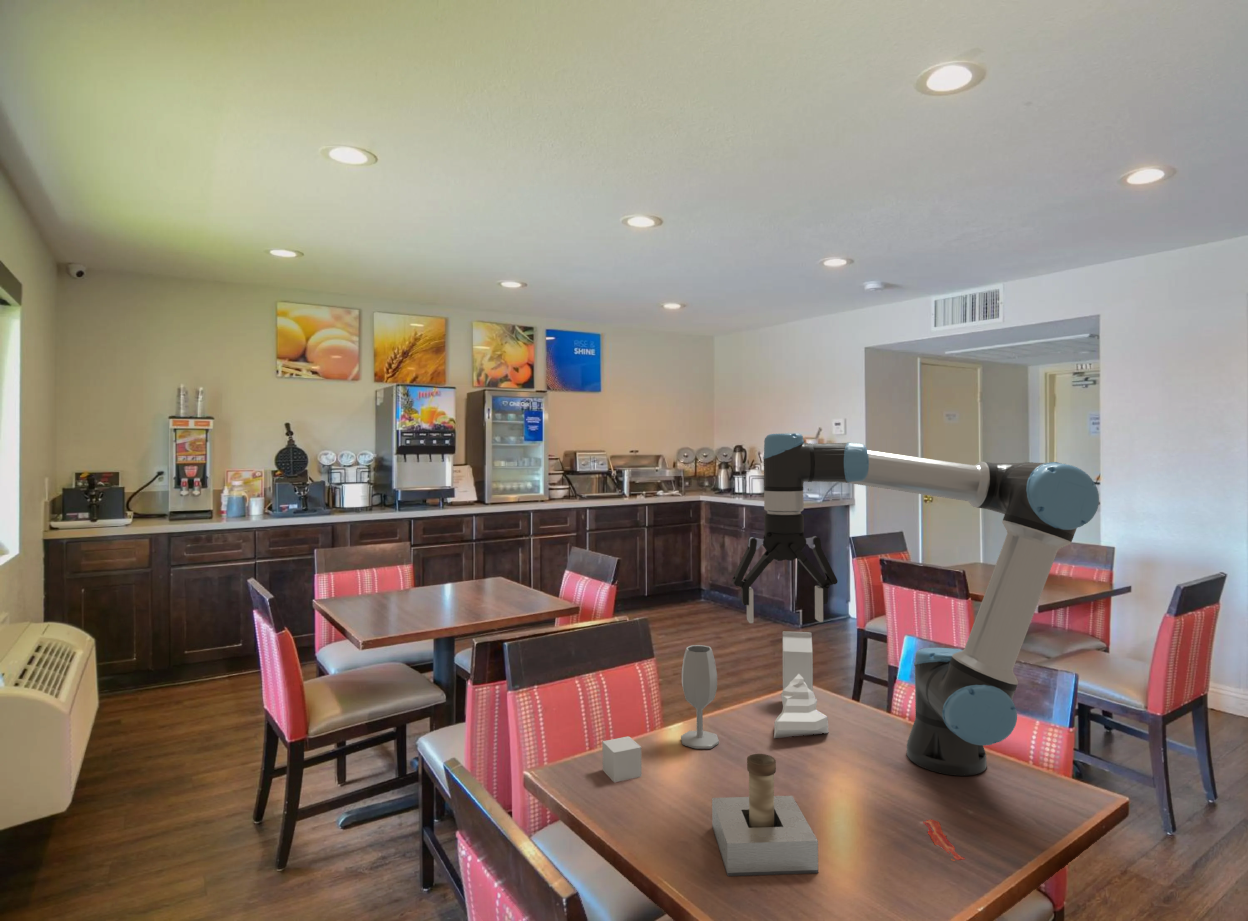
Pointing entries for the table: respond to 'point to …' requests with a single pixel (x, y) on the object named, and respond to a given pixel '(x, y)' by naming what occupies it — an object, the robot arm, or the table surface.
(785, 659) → the milk carton
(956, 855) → the bacon strip
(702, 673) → the wineglass
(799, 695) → the soft serve ice cream
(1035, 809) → the table surface
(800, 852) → the block
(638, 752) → the grey cube
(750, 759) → the beige cylinder
